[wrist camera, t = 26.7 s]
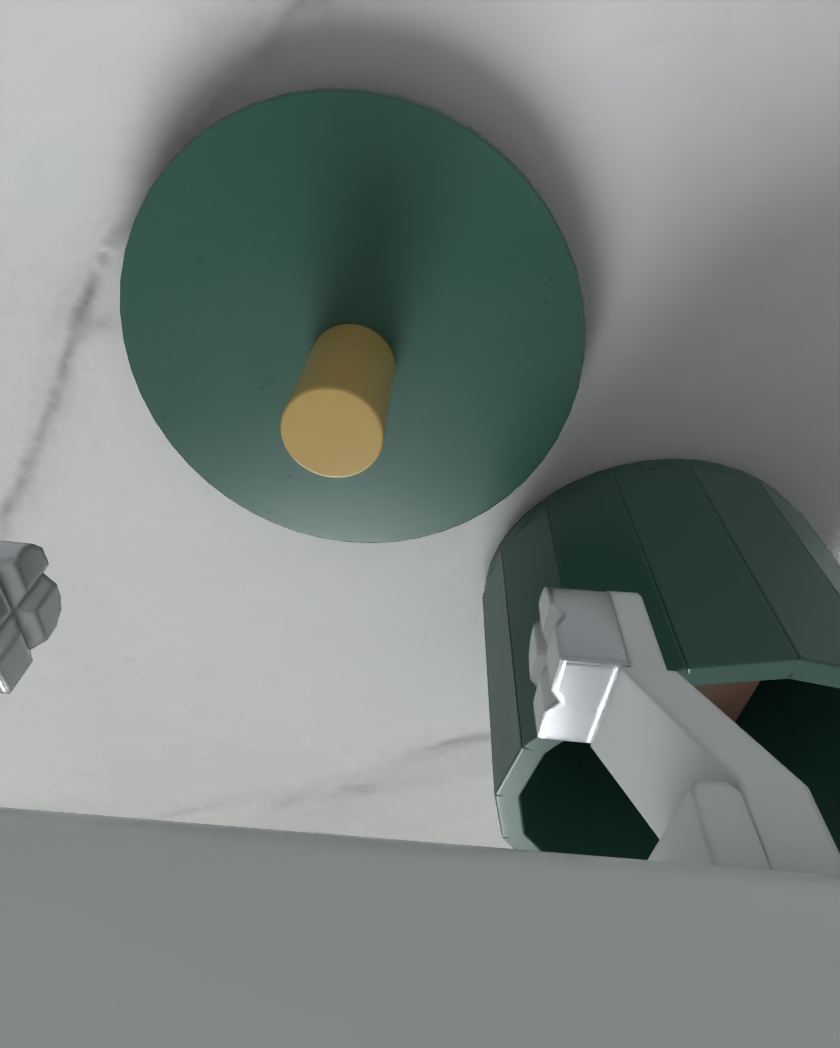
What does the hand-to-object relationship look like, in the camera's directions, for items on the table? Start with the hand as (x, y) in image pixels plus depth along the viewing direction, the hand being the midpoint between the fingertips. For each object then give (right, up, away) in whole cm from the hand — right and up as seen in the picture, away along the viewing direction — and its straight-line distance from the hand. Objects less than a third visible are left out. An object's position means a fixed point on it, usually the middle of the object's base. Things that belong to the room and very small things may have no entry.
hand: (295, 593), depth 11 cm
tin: (+10, -1, +14) cm, 17 cm away
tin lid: (0, +6, +8) cm, 10 cm away
